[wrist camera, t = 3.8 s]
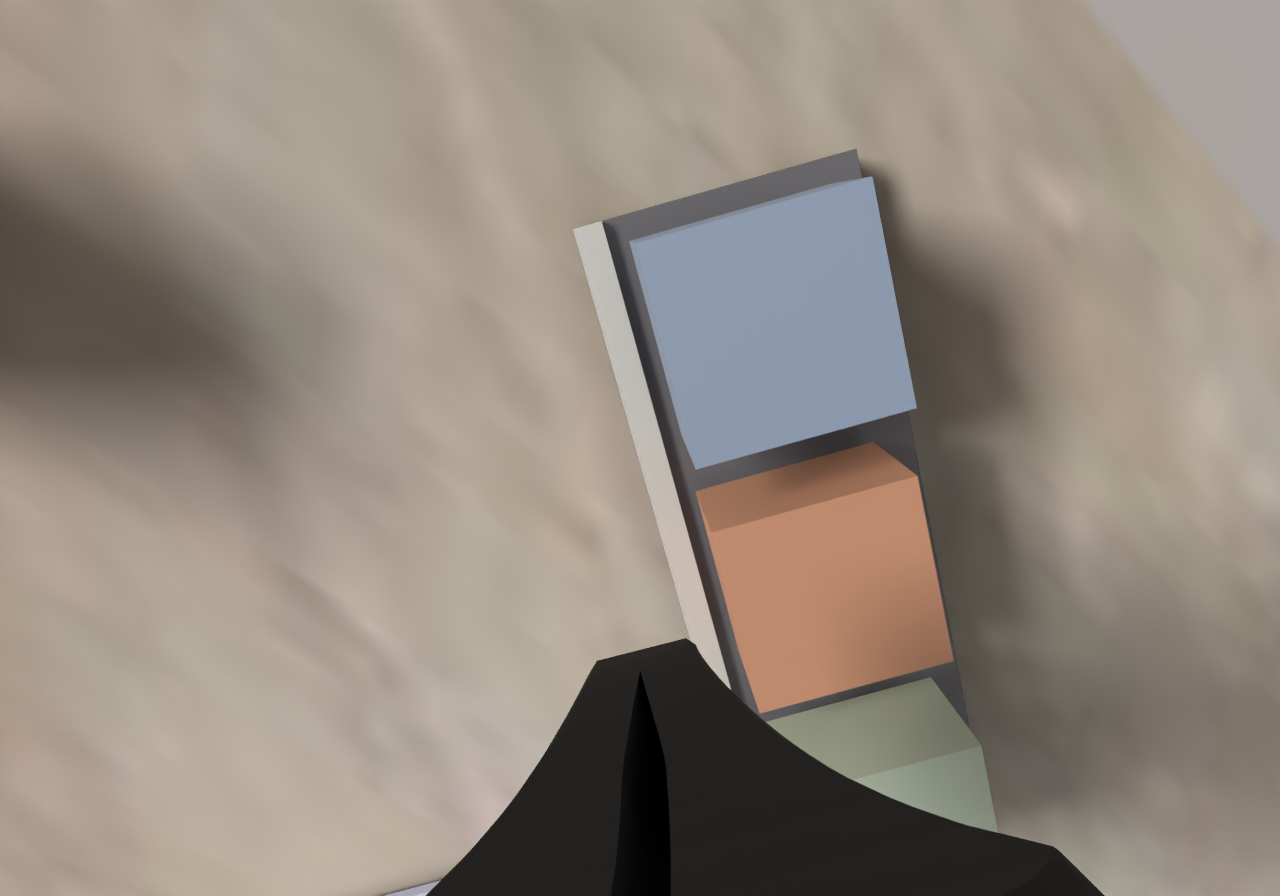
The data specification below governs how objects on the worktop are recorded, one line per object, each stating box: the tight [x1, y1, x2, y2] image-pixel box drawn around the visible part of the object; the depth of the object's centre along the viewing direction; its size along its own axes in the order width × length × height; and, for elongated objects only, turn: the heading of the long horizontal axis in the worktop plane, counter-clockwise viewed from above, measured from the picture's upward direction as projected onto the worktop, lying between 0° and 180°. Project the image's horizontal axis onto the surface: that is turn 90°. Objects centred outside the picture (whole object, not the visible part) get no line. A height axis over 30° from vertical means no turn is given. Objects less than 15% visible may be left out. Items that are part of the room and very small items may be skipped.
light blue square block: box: [629, 176, 917, 469], centre depth 16 cm, size 4×4×3 cm
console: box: [573, 149, 969, 728], centre depth 20 cm, size 16×6×2 cm, turn 15°
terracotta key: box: [696, 442, 954, 713], centre depth 18 cm, size 4×4×3 cm
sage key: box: [766, 677, 998, 833], centre depth 18 cm, size 4×4×3 cm
